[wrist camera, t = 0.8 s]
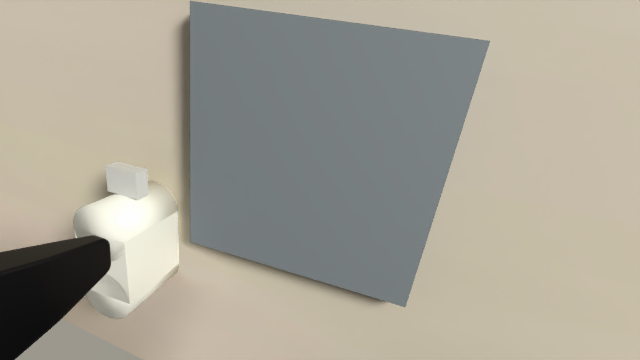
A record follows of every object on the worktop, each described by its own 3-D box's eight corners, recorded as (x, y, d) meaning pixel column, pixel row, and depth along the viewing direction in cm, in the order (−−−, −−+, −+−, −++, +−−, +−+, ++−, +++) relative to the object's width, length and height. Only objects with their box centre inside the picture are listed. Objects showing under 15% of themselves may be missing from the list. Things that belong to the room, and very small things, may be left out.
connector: (179, 282, 27) (131, 326, 22) (140, 269, 27) (86, 308, 23) (177, 163, 23) (119, 186, 18) (131, 152, 23) (65, 171, 19)
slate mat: (405, 295, 21) (405, 307, 20) (200, 234, 24) (190, 241, 23) (484, 43, 15) (489, 41, 14) (202, 5, 19) (189, 0, 17)
